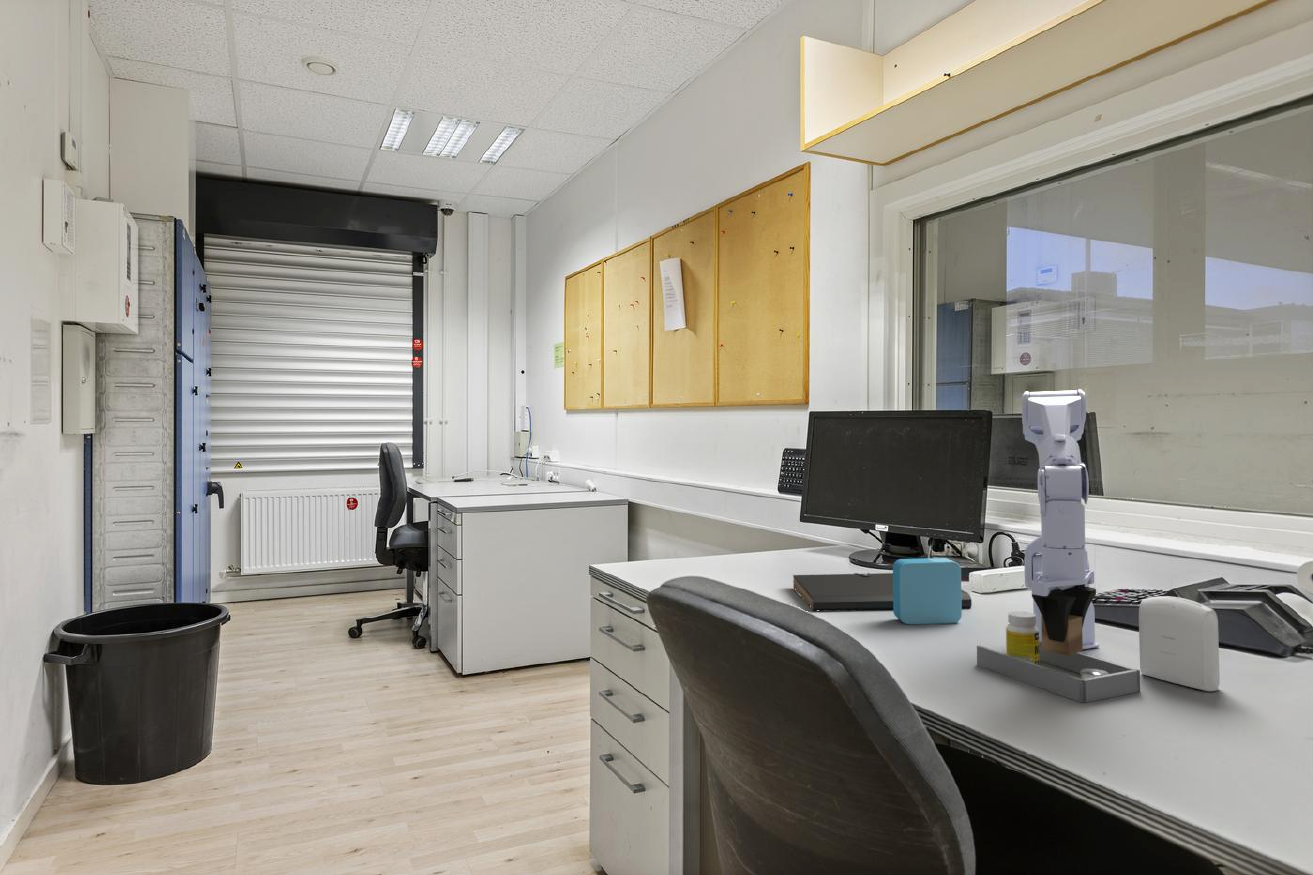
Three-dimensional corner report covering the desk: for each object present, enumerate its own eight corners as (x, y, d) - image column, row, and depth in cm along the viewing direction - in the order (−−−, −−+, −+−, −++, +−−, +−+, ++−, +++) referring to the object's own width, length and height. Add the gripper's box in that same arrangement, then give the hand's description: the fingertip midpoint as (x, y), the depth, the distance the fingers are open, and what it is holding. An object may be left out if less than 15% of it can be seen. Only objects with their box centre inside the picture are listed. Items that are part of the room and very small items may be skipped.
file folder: (930, 570, 185) (971, 593, 161) (930, 587, 185) (971, 613, 161) (792, 573, 185) (813, 596, 161) (792, 590, 185) (813, 616, 161)
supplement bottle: (1041, 673, 119) (1040, 618, 119) (1008, 670, 120) (1007, 616, 120) (1037, 663, 123) (1036, 611, 123) (1005, 661, 125) (1004, 609, 125)
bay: (1029, 655, 128) (1029, 637, 128) (1140, 691, 110) (1139, 670, 110) (977, 664, 124) (976, 645, 124) (1082, 703, 106) (1082, 681, 106)
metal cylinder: (1092, 686, 113) (1092, 667, 113) (1115, 694, 109) (1115, 674, 109) (1075, 690, 111) (1074, 670, 111) (1097, 697, 108) (1097, 677, 108)
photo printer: (1134, 674, 117) (1133, 593, 117) (1152, 670, 119) (1151, 590, 119) (1207, 694, 108) (1206, 606, 108) (1225, 689, 110) (1224, 603, 110)
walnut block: (1082, 650, 115) (1082, 616, 115) (1069, 655, 112) (1068, 621, 112) (1055, 645, 118) (1054, 612, 118) (1042, 649, 116) (1041, 616, 116)
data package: (952, 617, 154) (951, 557, 154) (962, 623, 150) (961, 561, 149) (893, 619, 154) (892, 559, 154) (900, 624, 149) (899, 562, 149)
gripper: (1060, 538, 122) (1062, 624, 122) (1010, 548, 114) (1012, 640, 114) (1108, 543, 116) (1109, 633, 117) (1059, 553, 108) (1060, 650, 108)
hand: (1064, 637), depth 115 cm, fingers closed on walnut block, 4 cm apart
